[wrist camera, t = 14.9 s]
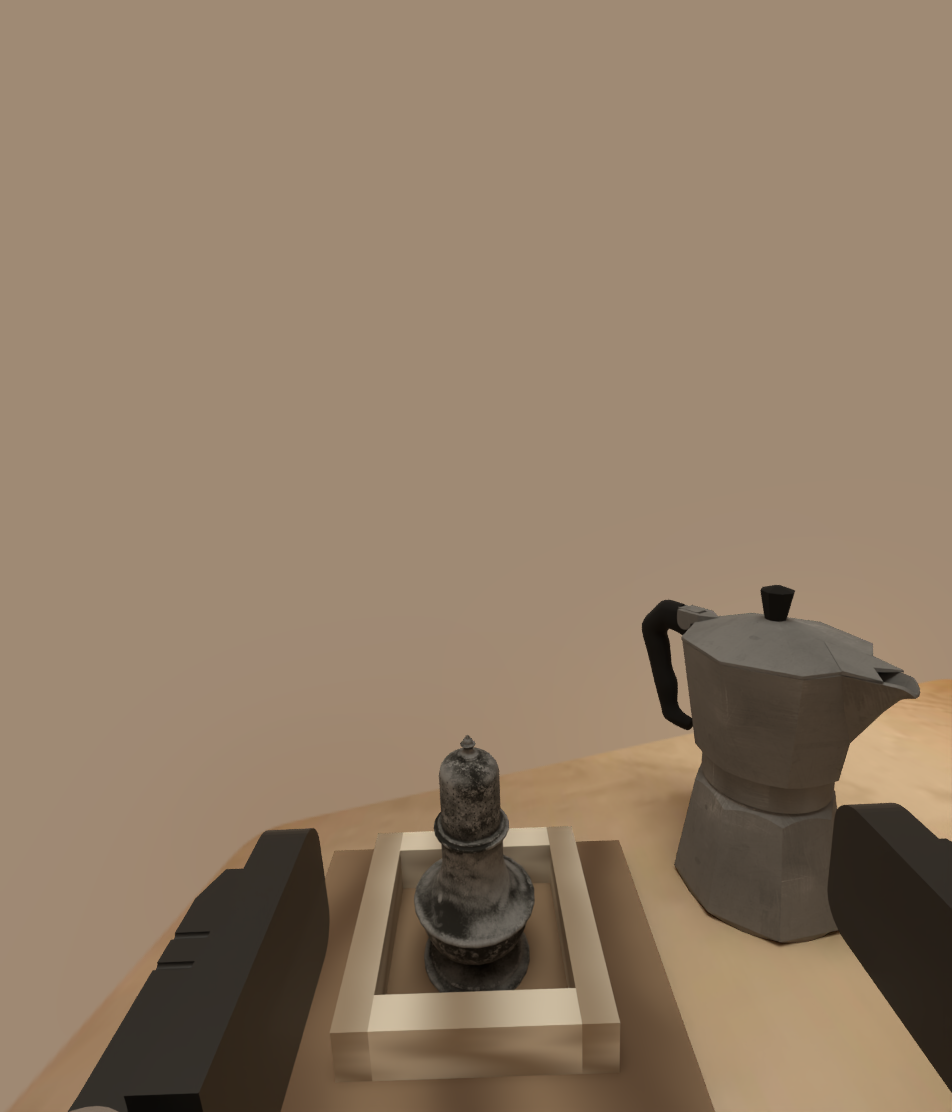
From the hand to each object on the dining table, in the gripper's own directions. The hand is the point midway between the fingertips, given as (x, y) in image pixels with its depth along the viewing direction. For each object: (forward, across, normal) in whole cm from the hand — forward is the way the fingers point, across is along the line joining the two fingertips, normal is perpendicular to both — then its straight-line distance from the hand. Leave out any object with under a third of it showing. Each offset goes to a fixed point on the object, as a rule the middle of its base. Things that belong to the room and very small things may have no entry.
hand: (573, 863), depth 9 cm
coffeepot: (+22, -13, +21) cm, 33 cm away
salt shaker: (+16, +3, +19) cm, 25 cm away
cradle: (+16, +3, +20) cm, 26 cm away
